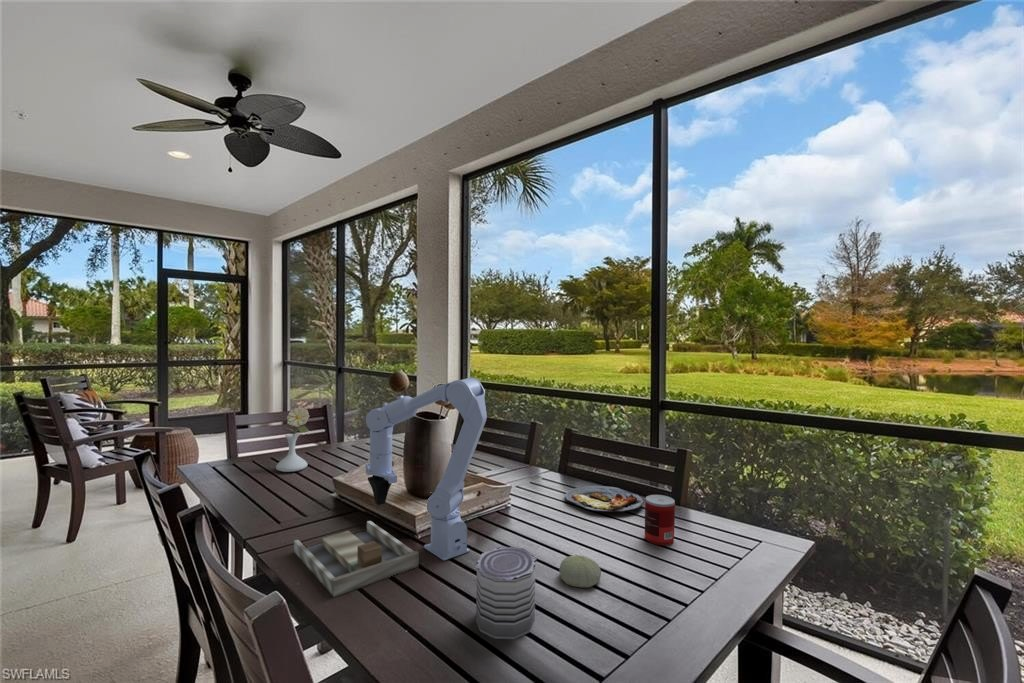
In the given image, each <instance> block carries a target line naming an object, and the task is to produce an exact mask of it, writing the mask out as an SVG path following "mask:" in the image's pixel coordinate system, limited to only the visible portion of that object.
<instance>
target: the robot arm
mask: <svg viewBox="0 0 1024 683" xmlns="http://www.w3.org/2000/svg"><path fill="white" fill-rule="evenodd" d="M485 397H486V391H485V388H484V387H483V385H482V383H481V381H480V380H479V379H477V378H476V377H473V376H471V377H470V376H469V377H467V378H464V379H460V380H458V379H455V380H453V381H451V382H446V383H443V384H439V385H437V386H435V387H433V388H431V389H429V390H426V391H425V392H422V393H420V394H418V395H416V396H414V397H411V396H409V395H405V396H404V395H399V396H397V397H396V399H395V400H393V401H391V402H389V403H388V402H386V403H385V402H384V403H383V404H382V407H378V408H372V409H371V410H370V411H368V412H367V414H366V417H365V423H366V426H367V428H368V429H369V463H365V471H364V472H365V475H367V476H368V477H367V481H368V483H369V485H370V487H371V489H372V490H371V491H372V494H373V498H374V502H375V504H376V505H378V506H380V505H384V504H386V501H387V497H388V493H389V490H390V488H391V487H392V486H391V485H392V484H395V483H398V475H397V474H396V473H395V470H394V468H393V431H394V426H395V425H397V424H399V423H402V422H404V421H406V420H409V419H411V418H413V417H415V416H416V415H417V412H418V411H419V409H421V408H424V407H426V406H429V405H431V404H434V403H436V402H439V401H442V402H444V403H446V402H449V403H450V405H452V406H453V407H454V408H455V410H456V411H458V413H460V415H461V417H462V419H463V423H462V426H461V428H460V430H459V434H458V437H457V439H456V441H455V444H454V447H453V450H452V451H451V452H452V453H451V455H450V458H449V459H448V460H449V461H448V462H447V466H446V469H445V472H444V473H443V476H442V478H441V480H440V481H439V483H438V484H437V485H436V487H435V490H434V492H432V493H433V494H432V495H431V496H430V497H429V498H428V500H427V510H428V512H429V513H430V515H429V516H430V543H428V544H427V543H426V544H423V548H424V549H425V550H427V551H428V552H430V553H431V554H433V555H434V556H436V557H438V558H439V559H440V560H442V561H446V560H447V561H448V560H450V559H452V558H455V557H457V556H461V555H464V554H466V553H469V552H470V548H468V526H467V524H466V523H465V522H464V521H463V519H462V518H461V515H460V514H461V513H460V505H461V504H462V502H463V500H464V487H465V485H466V484H465V482H464V480H465V477H466V474H467V473H468V472H467V471H468V469H469V466H470V464H471V462H472V459H473V456H474V454H475V451H476V449H477V446H478V443H479V441H480V437H481V435H482V433H483V430H484V427H485V425H486V422H487V418H488V415H487V407H486V400H485Z"/></svg>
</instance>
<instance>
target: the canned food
mask: <svg viewBox="0 0 1024 683" xmlns="http://www.w3.org/2000/svg"><path fill="white" fill-rule="evenodd" d="M675 502H676V501H675V499H674V498H672V497H671V496H667V495H662V494H650V495H647V496H645V500H644V539H645V540H646V541H647V542H648V543H650V544H653V545H658V546H669V545H672V543H674V541H675V540H674V539H675V520H676V519H675V517H676V514H675V513H676V503H675Z"/></svg>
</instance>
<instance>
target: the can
mask: <svg viewBox="0 0 1024 683" xmlns="http://www.w3.org/2000/svg"><path fill="white" fill-rule="evenodd" d="M537 559H538V558H537V557H535V555H533V554H532V553H531V552H529V551H528V550H527V549H526V548H523V547H512V546H499V547H496V548H494V549H490V550H487V551H484V552H482V553H481V555H480V556H479V558H478V560H477V562H476V564H475V565H474V567H475V568H476V598H475V602H476V604H475V606H476V607H475V609H476V610H475V617H476V618H475V621H476V625H477V627H478V629H479V632H480V633H483V634H485V635H486V636H488V637H490V638H492V639H494V640H516V639H518V638H520V637H523V636H525V635H527V634H530V632H531V630H532V629H533V626H534V624H535V614H536V613H535V610H536V562H537Z"/></svg>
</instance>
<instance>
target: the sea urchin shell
mask: <svg viewBox="0 0 1024 683" xmlns="http://www.w3.org/2000/svg"><path fill="white" fill-rule="evenodd" d="M558 570H559V575H560V578H561V580H562V581H563V582H564V584H566V585H568V586H572V587H578V588H581V589H582V588H586V589H587V588H591V587H593V586H596V584H598V582H599V581H600V580H601V576H602V571H601V570H602V569H601V568H600V565H599V564H598V563H597V562H596V561H595V560H593V559H592V558H589V557H588V556H584V555H581V554H579V555H578V554H574V555H573V554H572V555H570V556H566V557H565V558H564V559H563V560H561V563H560V565H559V568H558Z"/></svg>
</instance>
